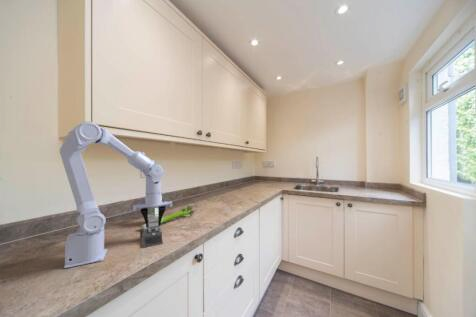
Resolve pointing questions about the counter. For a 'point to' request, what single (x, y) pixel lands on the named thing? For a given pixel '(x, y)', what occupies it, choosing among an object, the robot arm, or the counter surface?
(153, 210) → the syrup box
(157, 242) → the stand
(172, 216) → the leek
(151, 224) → the column
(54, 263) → the counter surface
